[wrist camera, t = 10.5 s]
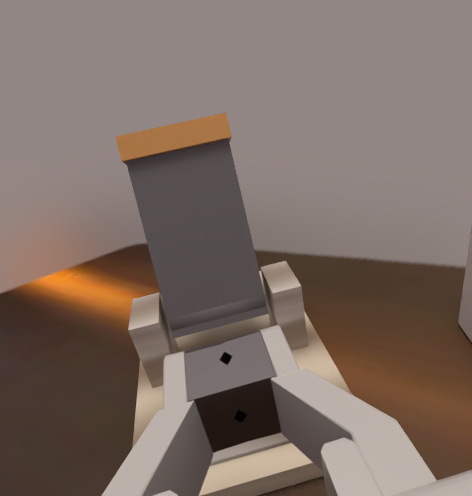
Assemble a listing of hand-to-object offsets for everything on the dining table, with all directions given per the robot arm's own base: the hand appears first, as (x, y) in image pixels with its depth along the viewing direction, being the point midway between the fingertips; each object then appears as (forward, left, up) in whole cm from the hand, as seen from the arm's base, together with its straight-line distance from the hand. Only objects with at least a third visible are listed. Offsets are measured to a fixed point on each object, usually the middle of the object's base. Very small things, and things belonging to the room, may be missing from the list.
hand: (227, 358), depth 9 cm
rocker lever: (+5, +14, -9) cm, 17 cm away
